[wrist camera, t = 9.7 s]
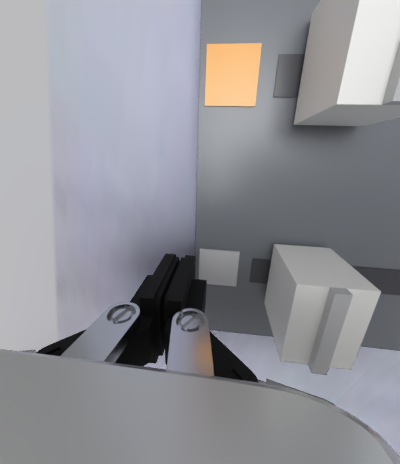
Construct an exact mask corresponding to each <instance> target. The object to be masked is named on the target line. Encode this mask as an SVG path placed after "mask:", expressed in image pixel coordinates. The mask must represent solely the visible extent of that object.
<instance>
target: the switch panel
mask: <svg viewBox="0 0 400 464" xmlns="http://www.w3.org/2000/svg"><path fill="white" fill-rule="evenodd" d="M319 1H320V0H202V4H201V42H200V79H199V117H198V155H197V193H196V230H195V256H196V267H195V279H200V280H207V288H206V303H205V312H204V313H205V315H206V316H207V318H208V322H209V330H217V331H226V332H235V333H244V334H253V335H262V336H271V337H273V333H272V329H271V326H270V322H269V318H268V315H267V311H266V307H265V304H264V301H265V295H266V289H267V283H268V277H269V271H270V265H271V259H272V253H273V246H274V244H282V245H296V246H310V247H324V248H331V249H332V250H333V251H334V252H335V253H337V254H338V255H339V256H340V257H341V258H342V259H344V260H345V261H346V262H347V263H348V264H350V265H351V266H352V267H353V268H354V269H355V270H357V271H358V272H359V273H360V274H361V275H362V276H364V277H365V278H366V279H367V280H368V281H369V282H371V283H372V284H373V285H374V286H375V287H376V288H378V289H379V290H380V291H381V294H380V296H379V299H378V301H377V304H376V307H375V309H374V312H373V315H372V317H371V320H370V322H369V325H368V328H367V330H366V333H365V335H364V338H363V341H362V343H361V346H362V347H371V348H380V349H389V350H398V351H400V118H396V119H392V120H387V121H383V122H378V123H374V124H370V125H365V126H325V125H294V119H295V112H296V106H297V100H298V94H299V88H300V82H301V76H302V70H303V64H304V58H305V52H306V45H307V39H308V33H309V27H310V21H311V15H312V12H313V11H314V9H315V7H316V6H317V4H318V2H319Z"/></svg>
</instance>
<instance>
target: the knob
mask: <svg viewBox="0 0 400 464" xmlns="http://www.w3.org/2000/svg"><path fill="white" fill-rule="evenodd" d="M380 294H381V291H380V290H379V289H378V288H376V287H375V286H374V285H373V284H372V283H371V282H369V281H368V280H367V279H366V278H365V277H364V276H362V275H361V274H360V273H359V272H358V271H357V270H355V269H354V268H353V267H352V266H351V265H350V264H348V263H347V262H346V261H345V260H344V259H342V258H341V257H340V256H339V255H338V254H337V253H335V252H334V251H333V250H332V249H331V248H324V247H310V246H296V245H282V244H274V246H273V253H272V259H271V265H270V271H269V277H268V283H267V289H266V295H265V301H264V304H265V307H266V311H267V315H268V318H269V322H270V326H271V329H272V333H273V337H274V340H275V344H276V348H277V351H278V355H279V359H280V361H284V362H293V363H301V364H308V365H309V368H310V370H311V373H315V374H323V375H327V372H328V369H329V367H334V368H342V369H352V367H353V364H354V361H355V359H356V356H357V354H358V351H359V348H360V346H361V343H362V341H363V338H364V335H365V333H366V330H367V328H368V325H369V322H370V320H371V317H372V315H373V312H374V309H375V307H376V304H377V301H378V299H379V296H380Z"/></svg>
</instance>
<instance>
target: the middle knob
mask: <svg viewBox="0 0 400 464" xmlns="http://www.w3.org/2000/svg"><path fill="white" fill-rule="evenodd" d="M396 118H400V0H320V1H319V2H318V4H317V6H316V7H315V9H314V11H313V12H312V15H311V21H310V27H309V33H308V39H307V45H306V52H305V58H304V64H303V70H302V76H301V82H300V88H299V94H298V100H297V106H296V112H295V119H294V125H325V126H365V125H370V124H374V123H378V122H383V121H387V120H392V119H396Z"/></svg>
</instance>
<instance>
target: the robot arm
mask: <svg viewBox="0 0 400 464" xmlns="http://www.w3.org/2000/svg"><path fill="white" fill-rule="evenodd" d="M195 267H196V256H188V255H186V256H185V258H181V260H179V257H176V255H175V254H165V256H164V257H163V259H162V261H161V262H160V264H159V266H158V267H157V269H156V271H155V272H154V274H153V275H148V276H147V277H146V278H145V280H144V281H143V283H142V284H141V286H140V288H139V289H138V291H137V292H136V294H135V295H134V297H133V298H132V300H131V301H130V302H121V303H118V304H115V305H113V306H111V307H110V308H108V309H107V310H106V311H105V312H104V313H103V314H102V315H101V316H100V317H99V318H98V319H97V320H96V321H95V322H94V323H93V324H92V325H91V326H90V327H89V328H88V329H86V330H84V331H81V332H79V333H77V334H74V335H72V336H70V337H67V338H65V339H62V340H60V341H58V342H55V343H53V344H51V345H48V346H46V347H44V348H42V349H41V350H39V351H38V352H36V350H26V351H13V350H3V349H0V464H400V457H399V455H398V454H397V453H396V452H395V451H394V449H393V448H392V447H391V446H390V445H389V444H388V443H387V442H386V441H385V440H384V439H383V438H382V437H381V436H380V435H379V434H378V433H377V432H375V431H374V430H373V429H372V428H371V427H369V426H368V425H367V424H365V423H364V422H362V421H361V420H359V419H358V418H356V417H355V416H353V415H351V414H350V413H348V412H346V411H344V410H342V409H340V408H338V407H336V406H335V405H334V404H333V403H331V402H329V401H327V400H325V399H323V398H320V397H317V396H314V395H311V394H308V393H305V392H303V391H300V390H297V389H294V388H291V387H288V386H285V385H283V384H280V383H277V382H274V381H271V380H268V379H267V380H266V382H264V381H261V380H258V379H257V377H256V376H255V375H254V373H253V372H252V371H251V370H250V369H249V368H248V367H247V366H246V365H245V364H244V363H243V362H242V361H240V360H239V359H238V358H237V357H236V356H235V355H234V354H233V353H232V352H231V351H230V350H229V349H228V348H227V347H226V346H225V345H224V344H223V343H221V342H220V341H219V340H218V339H217V338H216V337H215V336H214V335H213V334H212V333H211V332H210V331H209V322H208V318H207V316H206V315H205V313H204V312H205V303H206V288H207V280H200V279H195ZM164 350H165V361H166V365H167V370H165V369H158V368H150V367H144V365H146V364H147V363H156V362H157V359H158V356H159V355H161V356H162V355H163V353H164Z"/></svg>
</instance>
